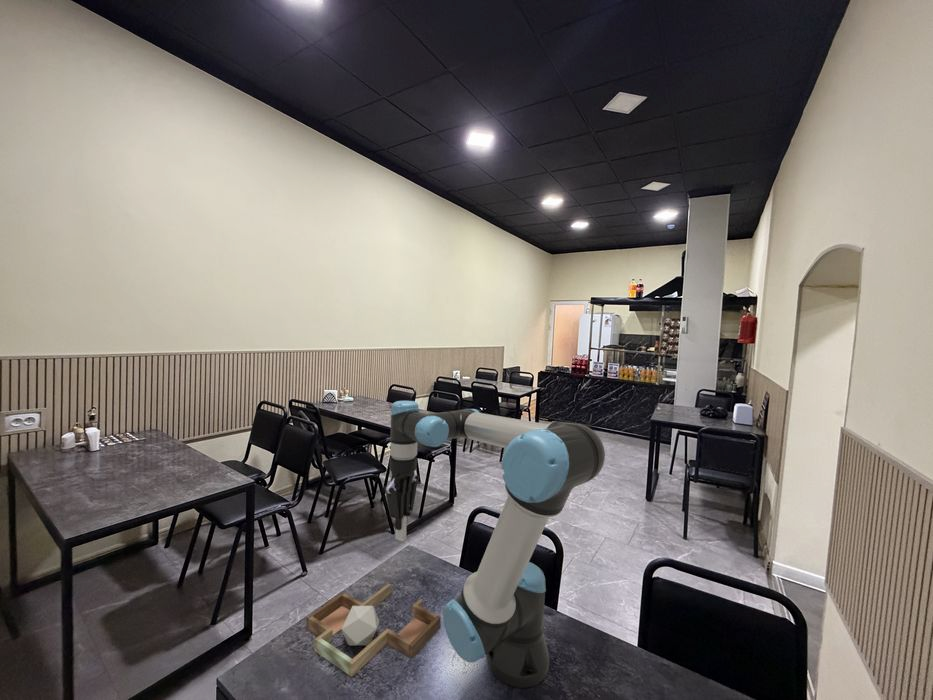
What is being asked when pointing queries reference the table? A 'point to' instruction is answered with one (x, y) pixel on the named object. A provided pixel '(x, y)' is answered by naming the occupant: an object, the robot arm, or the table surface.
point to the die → (360, 625)
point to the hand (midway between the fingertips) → (400, 538)
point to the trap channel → (405, 641)
